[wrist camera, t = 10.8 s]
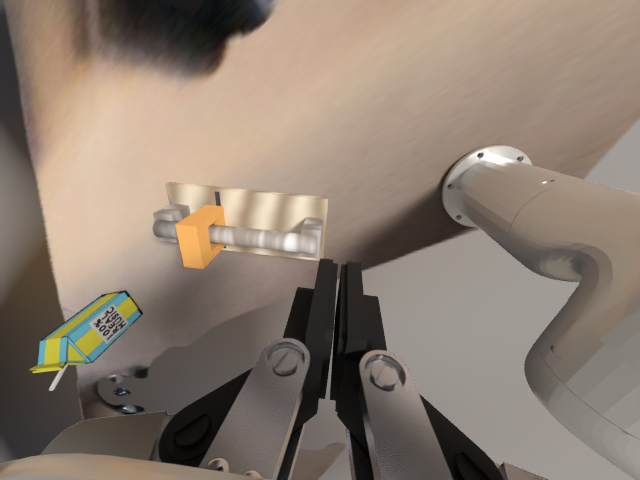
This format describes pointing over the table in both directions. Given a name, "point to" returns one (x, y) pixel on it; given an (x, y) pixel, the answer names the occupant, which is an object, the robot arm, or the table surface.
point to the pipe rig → (251, 220)
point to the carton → (86, 333)
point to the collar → (199, 236)
